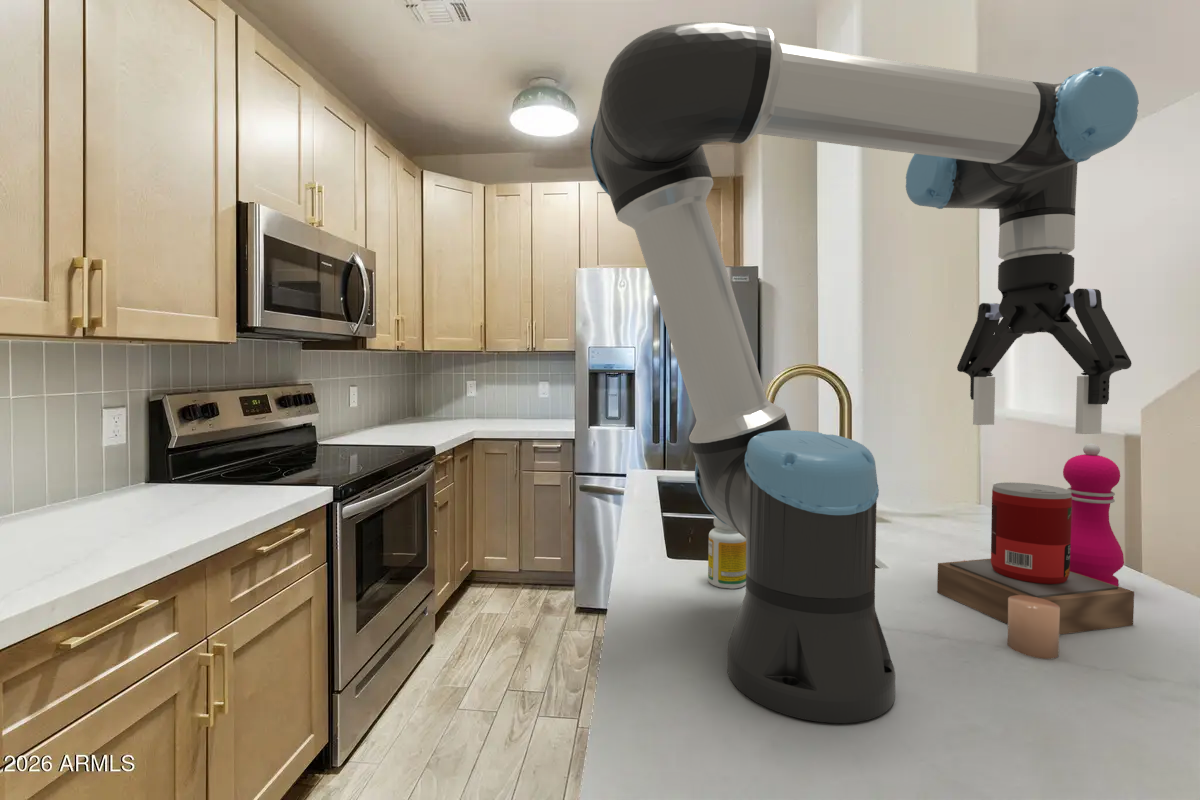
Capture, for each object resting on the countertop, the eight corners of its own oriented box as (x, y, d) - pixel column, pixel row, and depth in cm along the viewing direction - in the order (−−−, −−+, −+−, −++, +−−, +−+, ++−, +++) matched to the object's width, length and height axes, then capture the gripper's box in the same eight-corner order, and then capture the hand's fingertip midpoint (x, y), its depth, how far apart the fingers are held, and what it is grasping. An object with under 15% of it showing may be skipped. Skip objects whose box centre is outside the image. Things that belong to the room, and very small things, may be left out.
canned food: (1084, 587, 68) (1086, 494, 67) (1008, 582, 69) (1010, 492, 69) (1047, 566, 75) (1049, 483, 75) (979, 562, 77) (981, 481, 76)
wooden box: (1037, 637, 64) (1037, 599, 64) (937, 592, 78) (937, 561, 78) (1133, 625, 67) (1134, 589, 67) (1021, 583, 81) (1021, 554, 81)
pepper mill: (1126, 600, 75) (1130, 447, 74) (1055, 588, 79) (1059, 444, 78) (1119, 584, 80) (1123, 442, 80) (1054, 574, 85) (1057, 439, 84)
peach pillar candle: (1035, 661, 59) (1036, 612, 59) (997, 642, 63) (998, 597, 63) (1069, 656, 60) (1070, 609, 60) (1029, 637, 64) (1030, 593, 64)
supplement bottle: (700, 582, 82) (700, 515, 82) (724, 573, 85) (724, 510, 85) (730, 592, 78) (731, 522, 78) (754, 583, 81) (755, 516, 81)
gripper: (1179, 234, 60) (1172, 437, 60) (974, 276, 84) (971, 421, 85) (1124, 230, 58) (1117, 439, 59) (930, 274, 82) (927, 422, 83)
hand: (1031, 429), depth 72 cm, fingers open, 13 cm apart
